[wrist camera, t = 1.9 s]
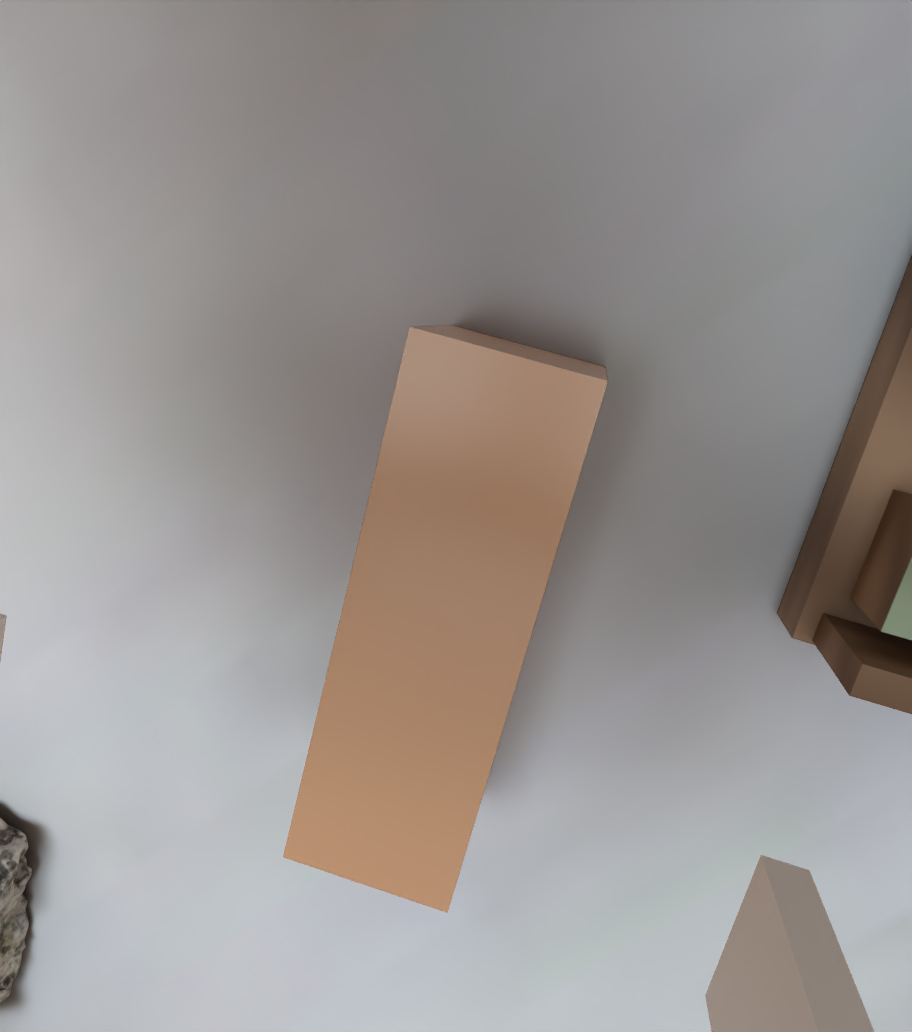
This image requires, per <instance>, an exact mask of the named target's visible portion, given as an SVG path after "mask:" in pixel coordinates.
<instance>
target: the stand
mask: <svg viewBox="0 0 912 1032" xmlns="http://www.w3.org/2000/svg"><path fill="white" fill-rule="evenodd" d="M777 614H778V616H779V617H780V619H781V621H782V622H783V624H784V626H785V627H786V629H787V630H788V632H789V634H790V635H791V637H792V638H794V639H797V640H801V641H804V642H807V643H811V644H814V645H816V647H817V648H818V650H819V651H820V652H821V654H822V655H823V657H824V658H825V660H826V661H827V663H828V664H829V666H830V667H831V669H832V670H833V672H834V673H835V675H836V676H837V678H838V679H839V681H840V682H841V684H842V685H843V687H844V688H845V690H846V691H847V693H848V694H849V695H850V696H853V697H856V698H860V699H863V700H866V701H870V702H873V703H876V704H880V705H883V706H886V707H890V708H893V709H897V710H900V711H903V712H907V713H910V714H912V256H911V259H910V262H909V264H908V267H907V270H906V272H905V275H904V278H903V280H902V283H901V286H900V288H899V291H898V294H897V296H896V299H895V302H894V304H893V307H892V310H891V312H890V315H889V318H888V320H887V323H886V325H885V328H884V331H883V333H882V336H881V339H880V341H879V344H878V347H877V349H876V352H875V355H874V357H873V360H872V363H871V365H870V368H869V371H868V373H867V376H866V379H865V381H864V384H863V387H862V389H861V392H860V395H859V397H858V400H857V402H856V405H855V408H854V410H853V413H852V416H851V418H850V421H849V424H848V426H847V429H846V432H845V434H844V437H843V440H842V442H841V445H840V448H839V450H838V453H837V456H836V458H835V461H834V464H833V466H832V469H831V472H830V474H829V477H828V479H827V482H826V485H825V487H824V490H823V493H822V495H821V498H820V501H819V503H818V506H817V509H816V511H815V514H814V517H813V519H812V522H811V525H810V527H809V530H808V533H807V535H806V538H805V541H804V543H803V546H802V548H801V551H800V554H799V556H798V559H797V562H796V564H795V567H794V570H793V572H792V575H791V578H790V580H789V583H788V586H787V588H786V591H785V594H784V596H783V599H782V602H781V604H780V607H779V610H778V612H777Z"/></svg>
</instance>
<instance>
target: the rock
mask: <svg viewBox="0 0 912 1032" xmlns="http://www.w3.org/2000/svg"><path fill="white" fill-rule="evenodd" d="M27 849H28V843H27V838H26V835H25V834H24V833H23V832H22V831H20V830H18V829H16V828H14V827H12V826H10V825H7V824H6V823H5V822H4V821H3V820H2V819H1V817H0V1003H1V1002H2V1001H4V1000H5V999H6V998H7V997H8V996H9V995H10V993H11V986H12V982H13V981H14V980H15V978H16V976H17V974H18V971H19V967H20V963H21V959H22V951H23V950H24V948H25V947H26V945H25V940H24V939H25V936H26V934H27V931H28V926H29V921H28V917H27V913H26V906H27V903H28V900H27V899H26V898H25V896H24V895H23V894H22V893H23V892H24V890H25V887H26V884H27V882H28V881H29V879H30V877H31V876H32V869H31V868H30V867H28V866H27V860H26V858H25V856H24V854H25V853H26V851H27Z"/></svg>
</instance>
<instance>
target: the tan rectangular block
mask: <svg viewBox="0 0 912 1032" xmlns="http://www.w3.org/2000/svg"><path fill="white" fill-rule="evenodd" d="M607 383H608V378H607V373H606V367H603V366H600V365H596V364H592V363H589V362H585V361H581V360H578V359H574V358H570V357H567V356H563V355H559V354H556V353H552V352H548V351H545V350H541V349H537V348H534V347H530V346H526V345H523V344H519V343H515V342H512V341H508V340H504V339H501V338H497V337H493V336H489V335H486V334H482V333H478V332H475V331H471V330H467V329H464V328H460V327H456V326H453V325H449V326H418V327H409V331H408V335H407V339H406V344H405V348H404V352H403V356H402V360H401V365H400V369H399V373H398V377H397V381H396V386H395V390H394V394H393V398H392V402H391V407H390V411H389V415H388V419H387V423H386V428H385V432H384V436H383V440H382V444H381V448H380V453H379V457H378V461H377V465H376V469H375V474H374V478H373V482H372V486H371V490H370V495H369V499H368V503H367V507H366V511H365V516H364V520H363V524H362V528H361V532H360V537H359V541H358V545H357V549H356V553H355V558H354V562H353V566H352V570H351V574H350V579H349V583H348V587H347V591H346V595H345V599H344V604H343V608H342V612H341V616H340V620H339V625H338V629H337V633H336V637H335V641H334V646H333V650H332V654H331V658H330V662H329V667H328V671H327V675H326V679H325V683H324V688H323V692H322V696H321V700H320V704H319V709H318V713H317V717H316V721H315V725H314V730H313V734H312V738H311V742H310V746H309V751H308V755H307V759H306V763H305V767H304V771H303V776H302V780H301V784H300V788H299V792H298V797H297V801H296V805H295V809H294V813H293V818H292V822H291V826H290V830H289V834H288V839H287V843H286V847H285V851H284V855H283V857H284V858H287V859H290V860H293V861H296V862H299V863H302V864H305V865H308V866H311V867H314V868H317V869H320V870H323V871H326V872H329V873H332V874H335V875H337V876H340V877H343V878H346V879H349V880H352V881H355V882H358V883H361V884H364V885H367V886H370V887H373V888H376V889H379V890H382V891H385V892H388V893H391V894H394V895H397V896H399V897H402V898H405V899H408V900H411V901H414V902H417V903H420V904H423V905H426V906H429V907H432V908H435V909H438V910H441V911H444V912H448V909H449V906H450V902H451V899H452V896H453V892H454V889H455V886H456V883H457V879H458V876H459V873H460V869H461V866H462V863H463V859H464V856H465V853H466V849H467V846H468V843H469V840H470V836H471V833H472V830H473V826H474V823H475V820H476V816H477V813H478V810H479V806H480V803H481V800H482V796H483V793H484V790H485V787H486V783H487V780H488V777H489V773H490V770H491V767H492V763H493V760H494V757H495V753H496V750H497V747H498V744H499V740H500V737H501V734H502V730H503V727H504V724H505V720H506V717H507V714H508V710H509V707H510V704H511V701H512V697H513V694H514V691H515V687H516V684H517V681H518V677H519V674H520V671H521V667H522V664H523V661H524V658H525V654H526V651H527V648H528V644H529V641H530V638H531V634H532V631H533V628H534V624H535V621H536V618H537V614H538V611H539V608H540V605H541V601H542V598H543V595H544V591H545V588H546V585H547V581H548V578H549V575H550V571H551V568H552V565H553V562H554V558H555V555H556V552H557V548H558V545H559V542H560V538H561V535H562V532H563V528H564V525H565V522H566V519H567V515H568V512H569V509H570V505H571V502H572V499H573V495H574V492H575V489H576V485H577V482H578V479H579V475H580V472H581V469H582V466H583V462H584V459H585V456H586V452H587V449H588V446H589V442H590V439H591V436H592V432H593V429H594V426H595V423H596V419H597V416H598V413H599V409H600V406H601V403H602V399H603V396H604V393H605V389H606V386H607Z"/></svg>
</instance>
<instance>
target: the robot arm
mask: <svg viewBox="0 0 912 1032" xmlns="http://www.w3.org/2000/svg"><path fill="white" fill-rule="evenodd" d="M5 623H6V615H3V614H0V660H1V653H2V645H3V638H4V631H5ZM705 996H706V1001H707V1007H708V1013H709V1019H710V1025H711V1031H712V1032H874V1030H873V1027H872V1025H871V1022H870V1020H869V1017H868V1015H867V1012H866V1010H865V1007H864V1005H863V1002H862V1000H861V997H860V995H859V993H858V990H857V988H856V985H855V983H854V980H853V978H852V975H851V973H850V970H849V968H848V965H847V963H846V960H845V958H844V955H843V953H842V950H841V948H840V945H839V943H838V940H837V938H836V935H835V933H834V930H833V928H832V925H831V923H830V921H829V918H828V916H827V913H826V911H825V908H824V906H823V903H822V901H821V898H820V896H819V893H818V891H817V888H816V886H815V883H814V881H813V878H812V876H811V873H810V871H809V870H807V869H803V868H800V867H797V866H794V865H791V864H788V863H785V862H781V861H778V860H775V859H772V858H769V857H766V856H762V855H761V857H760V859H759V862H758V864H757V867H756V869H755V872H754V874H753V877H752V879H751V882H750V884H749V887H748V889H747V892H746V894H745V897H744V899H743V902H742V905H741V907H740V910H739V912H738V915H737V917H736V920H735V922H734V925H733V927H732V930H731V932H730V935H729V937H728V940H727V942H726V945H725V947H724V950H723V952H722V955H721V957H720V960H719V963H718V965H717V968H716V970H715V973H714V975H713V978H712V980H711V983H710V985H709V988H708V990H707V993H706V995H705Z"/></svg>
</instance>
